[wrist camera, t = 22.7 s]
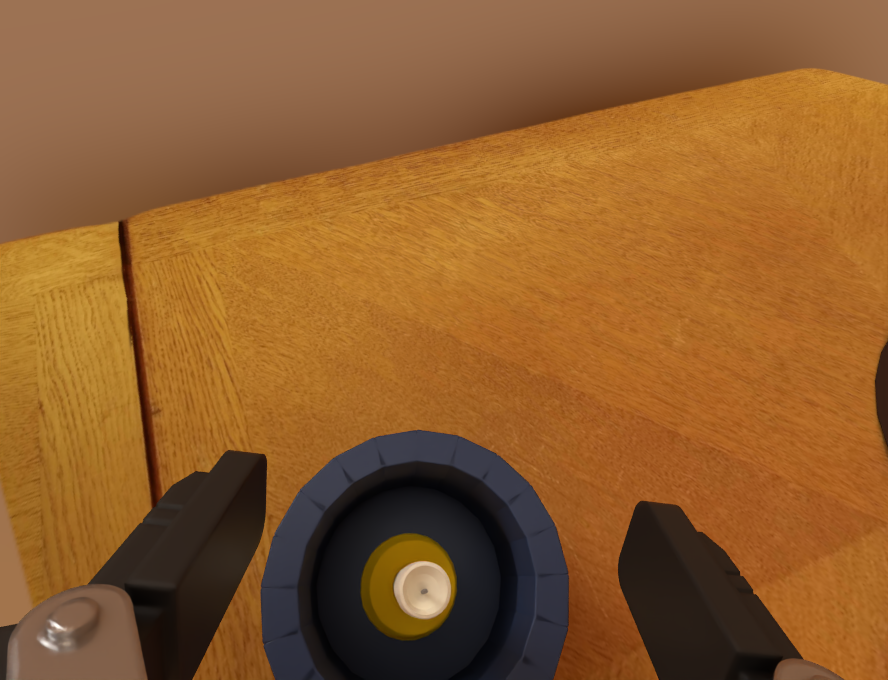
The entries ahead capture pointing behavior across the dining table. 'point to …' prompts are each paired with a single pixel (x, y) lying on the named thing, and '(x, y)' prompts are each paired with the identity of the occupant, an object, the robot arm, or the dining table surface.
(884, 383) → the plate
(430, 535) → the navy blue cup
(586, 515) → the dining table surface
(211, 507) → the robot arm
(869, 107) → the dining table surface
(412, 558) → the candle
